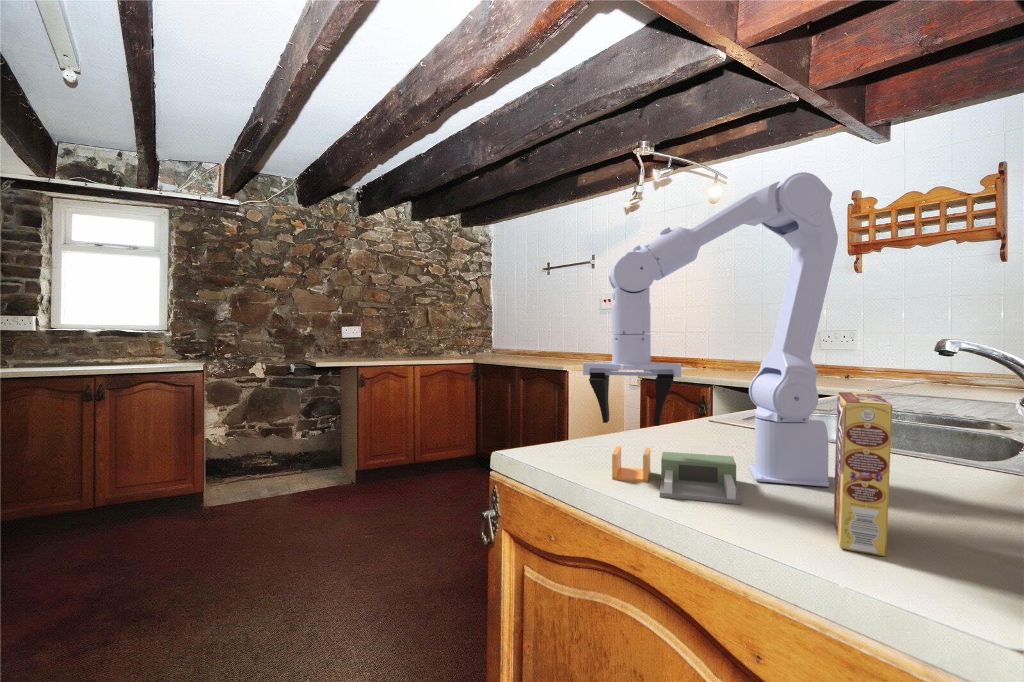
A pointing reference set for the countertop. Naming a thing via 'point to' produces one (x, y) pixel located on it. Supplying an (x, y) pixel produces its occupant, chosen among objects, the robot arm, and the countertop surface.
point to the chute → (630, 473)
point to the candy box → (862, 472)
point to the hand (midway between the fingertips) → (631, 423)
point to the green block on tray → (699, 477)
